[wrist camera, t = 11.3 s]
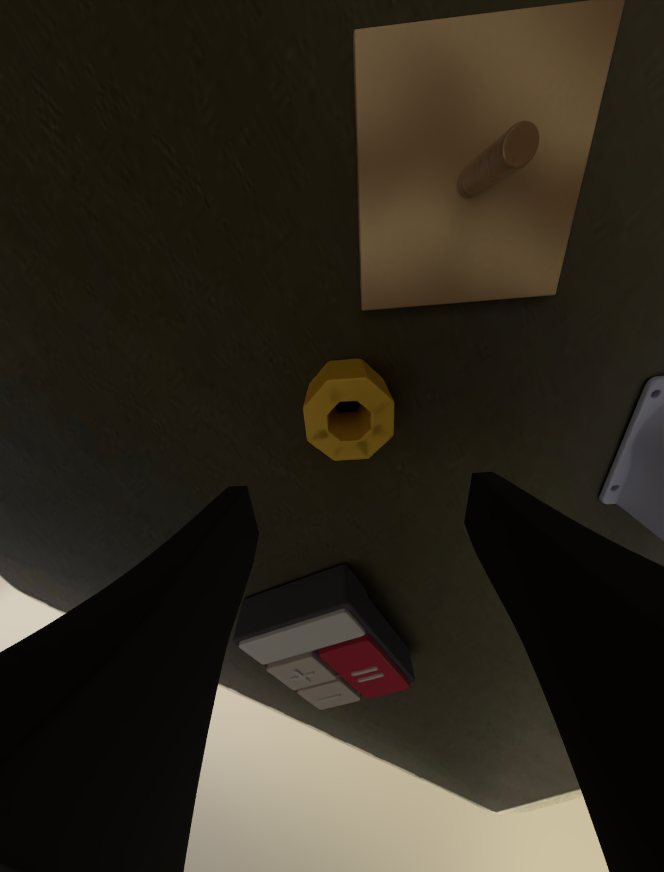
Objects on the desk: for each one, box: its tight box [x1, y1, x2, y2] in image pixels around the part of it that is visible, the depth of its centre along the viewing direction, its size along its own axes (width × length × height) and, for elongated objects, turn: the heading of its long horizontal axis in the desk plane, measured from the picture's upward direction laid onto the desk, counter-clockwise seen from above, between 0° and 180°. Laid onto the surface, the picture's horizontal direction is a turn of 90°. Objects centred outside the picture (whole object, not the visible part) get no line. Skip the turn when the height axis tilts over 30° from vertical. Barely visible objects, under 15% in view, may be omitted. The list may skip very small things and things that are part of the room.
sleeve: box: [303, 359, 394, 461], centre depth 17 cm, size 5×5×4 cm
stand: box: [353, 0, 625, 311], centre depth 12 cm, size 10×10×5 cm
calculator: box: [233, 565, 415, 710], centre depth 28 cm, size 11×4×15 cm
